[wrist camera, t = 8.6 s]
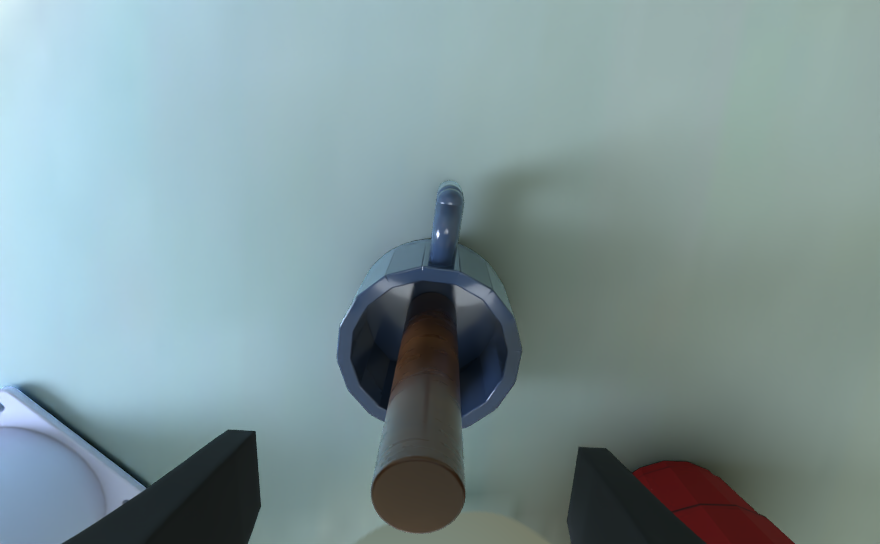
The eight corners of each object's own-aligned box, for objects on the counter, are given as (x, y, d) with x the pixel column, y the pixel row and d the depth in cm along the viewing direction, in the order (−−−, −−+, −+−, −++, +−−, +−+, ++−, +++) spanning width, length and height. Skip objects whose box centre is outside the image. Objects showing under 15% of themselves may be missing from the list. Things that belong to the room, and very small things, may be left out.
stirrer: (430, 346, 20) (415, 551, 11) (396, 313, 20) (350, 494, 10) (466, 316, 20) (485, 501, 10) (433, 282, 19) (420, 440, 10)
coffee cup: (492, 385, 21) (503, 443, 17) (352, 367, 21) (331, 422, 17) (531, 188, 19) (552, 206, 15) (371, 166, 18) (350, 177, 15)
